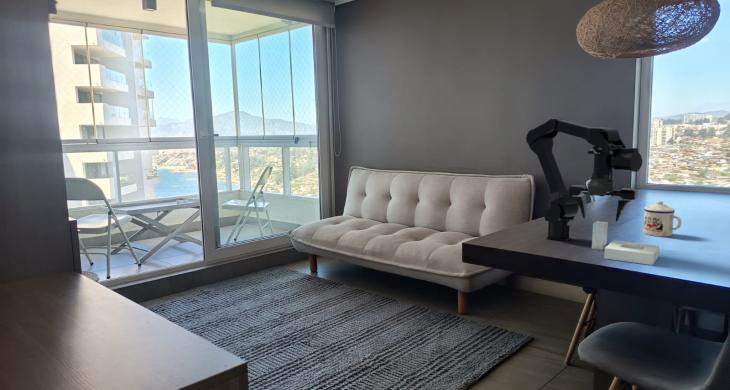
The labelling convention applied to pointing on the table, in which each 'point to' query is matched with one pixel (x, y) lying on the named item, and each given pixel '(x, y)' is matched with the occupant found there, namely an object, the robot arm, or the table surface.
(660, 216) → the teacup with lid
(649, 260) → the hub block
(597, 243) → the keyed peg
